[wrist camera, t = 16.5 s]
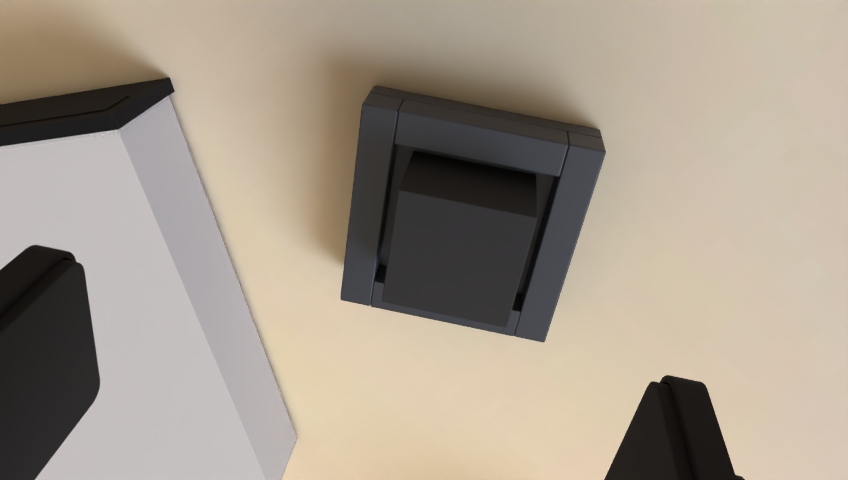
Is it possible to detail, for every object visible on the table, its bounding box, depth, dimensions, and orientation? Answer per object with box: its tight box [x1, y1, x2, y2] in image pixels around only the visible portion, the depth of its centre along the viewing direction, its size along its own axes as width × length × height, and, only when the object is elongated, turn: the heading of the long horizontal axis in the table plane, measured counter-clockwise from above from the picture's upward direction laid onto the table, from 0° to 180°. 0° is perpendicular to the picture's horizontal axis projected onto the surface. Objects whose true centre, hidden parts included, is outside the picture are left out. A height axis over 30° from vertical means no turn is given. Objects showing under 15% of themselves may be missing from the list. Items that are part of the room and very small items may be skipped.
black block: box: [382, 151, 537, 328], centre depth 29 cm, size 6×6×4 cm
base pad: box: [341, 86, 606, 342], centre depth 30 cm, size 10×10×2 cm
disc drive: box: [0, 78, 297, 480], centre depth 35 cm, size 18×22×5 cm
